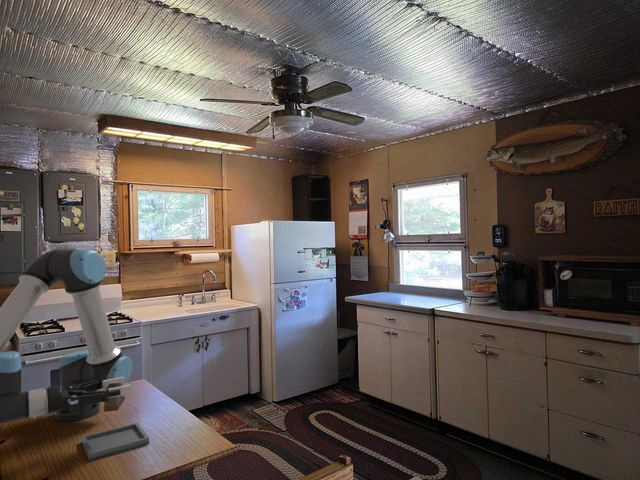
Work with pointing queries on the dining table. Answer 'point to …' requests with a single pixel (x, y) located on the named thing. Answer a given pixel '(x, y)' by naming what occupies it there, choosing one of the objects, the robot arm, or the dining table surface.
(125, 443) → the dock tray
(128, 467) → the dining table surface
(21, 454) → the dining table surface
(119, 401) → the electronic device
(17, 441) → the dining table surface
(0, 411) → the robot arm
